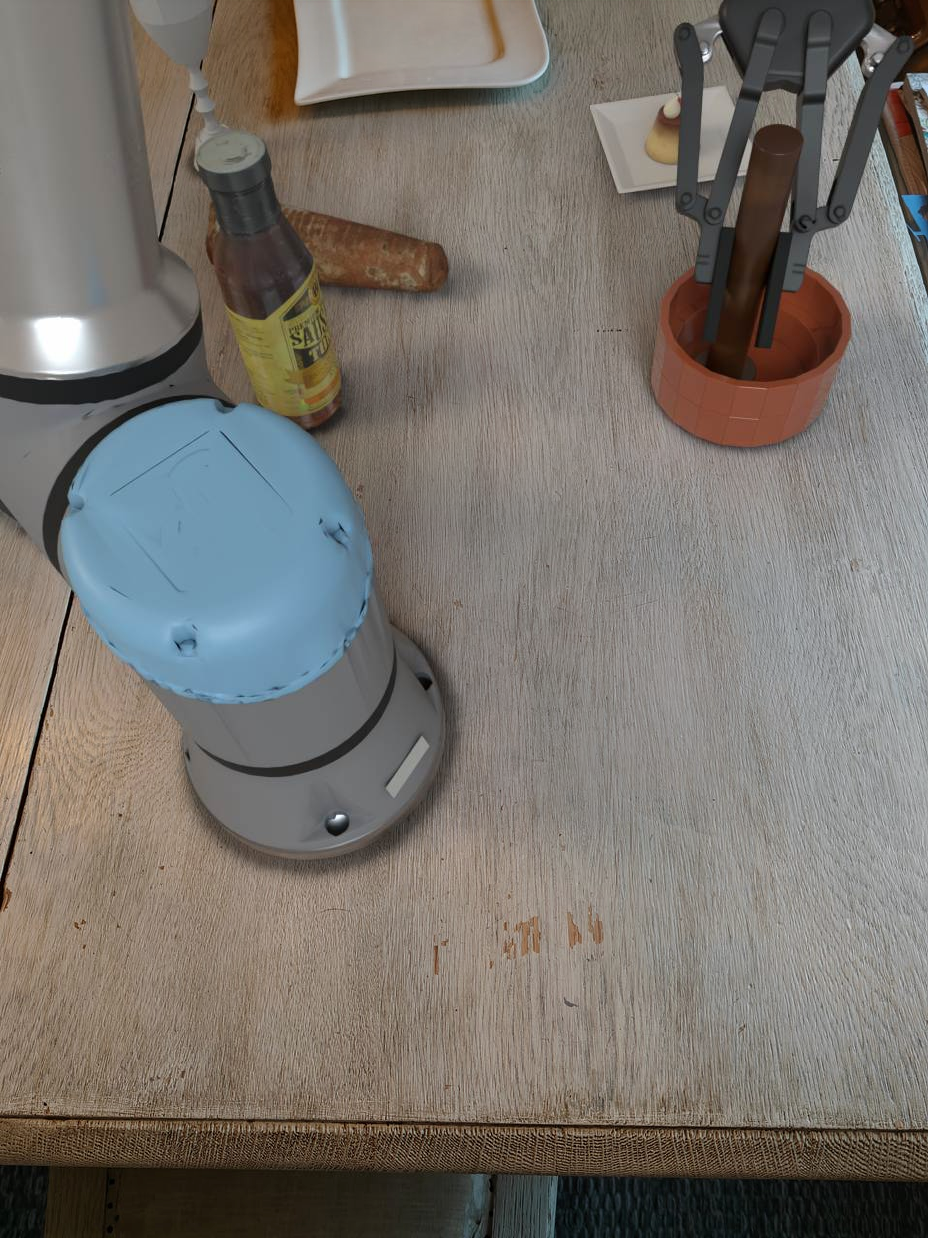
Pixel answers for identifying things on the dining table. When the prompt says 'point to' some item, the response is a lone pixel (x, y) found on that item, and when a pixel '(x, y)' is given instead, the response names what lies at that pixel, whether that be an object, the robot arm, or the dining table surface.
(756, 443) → the bowl
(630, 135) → the dessert
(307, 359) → the sauce bottle
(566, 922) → the dining table surface
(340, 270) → the bread
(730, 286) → the wooden peg on base
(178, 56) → the chalice
